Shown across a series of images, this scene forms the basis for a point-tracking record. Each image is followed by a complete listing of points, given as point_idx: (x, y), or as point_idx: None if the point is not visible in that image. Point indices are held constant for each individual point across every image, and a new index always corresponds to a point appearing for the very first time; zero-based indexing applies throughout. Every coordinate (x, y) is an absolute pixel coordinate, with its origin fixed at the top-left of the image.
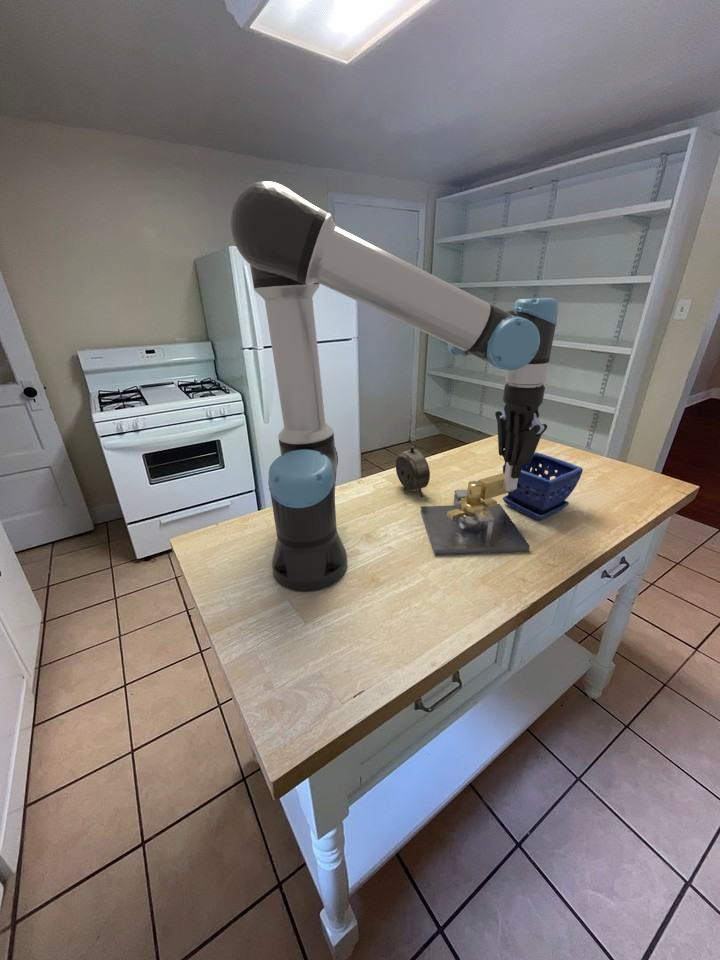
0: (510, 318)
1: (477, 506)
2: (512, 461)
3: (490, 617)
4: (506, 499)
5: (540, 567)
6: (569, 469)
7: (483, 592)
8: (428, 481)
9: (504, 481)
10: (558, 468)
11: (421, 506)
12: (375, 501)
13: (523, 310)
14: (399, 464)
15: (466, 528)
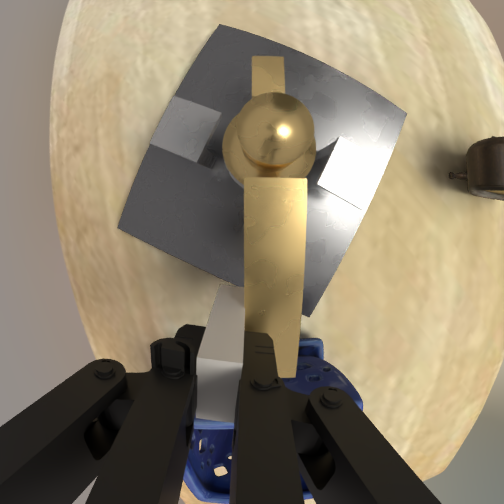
0: None
1: (237, 141)
2: (172, 372)
3: (64, 55)
4: (308, 342)
5: (84, 207)
6: (229, 490)
7: (94, 65)
8: (473, 185)
9: (239, 302)
10: None
11: (406, 114)
12: (462, 78)
13: None
14: None
15: None
